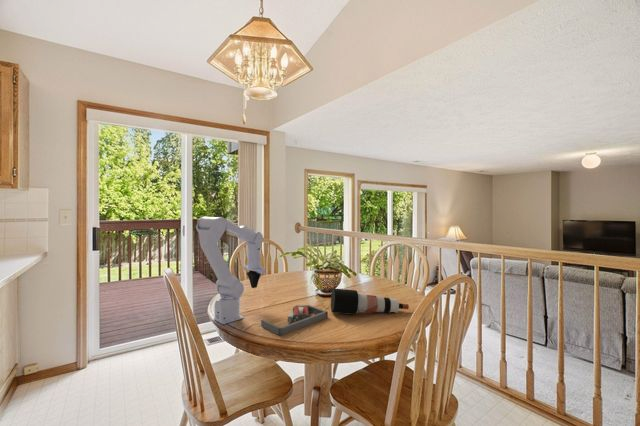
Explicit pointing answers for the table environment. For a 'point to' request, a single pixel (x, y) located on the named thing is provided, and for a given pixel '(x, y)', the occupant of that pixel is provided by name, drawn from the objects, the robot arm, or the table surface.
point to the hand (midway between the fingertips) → (254, 287)
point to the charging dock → (297, 325)
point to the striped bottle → (362, 302)
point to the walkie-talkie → (298, 313)
